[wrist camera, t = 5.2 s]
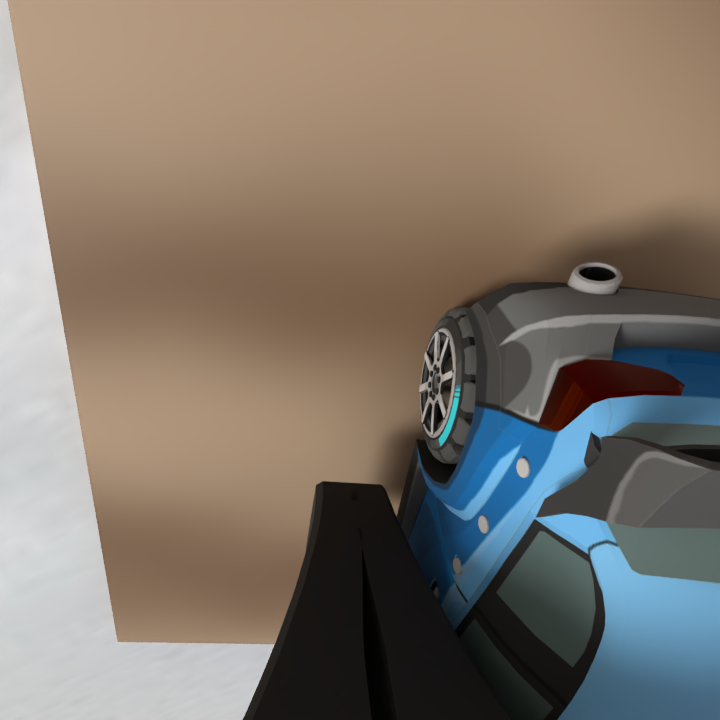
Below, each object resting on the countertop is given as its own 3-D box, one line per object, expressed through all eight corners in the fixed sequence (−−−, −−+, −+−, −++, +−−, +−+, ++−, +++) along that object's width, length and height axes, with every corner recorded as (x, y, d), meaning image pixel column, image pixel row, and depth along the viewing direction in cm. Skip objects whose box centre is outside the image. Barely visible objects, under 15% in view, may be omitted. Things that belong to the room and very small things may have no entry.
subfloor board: (862, 644, 18) (870, 652, 18) (121, 630, 14) (117, 641, 14) (1879, -152, 7) (1937, -158, 7) (-142, -994, 4) (-177, -1072, 3)
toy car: (340, 628, 15) (351, 927, 10) (459, 200, 8) (660, 476, 3) (538, 634, 15) (635, 908, 11) (788, 253, 9) (1310, 526, 4)
